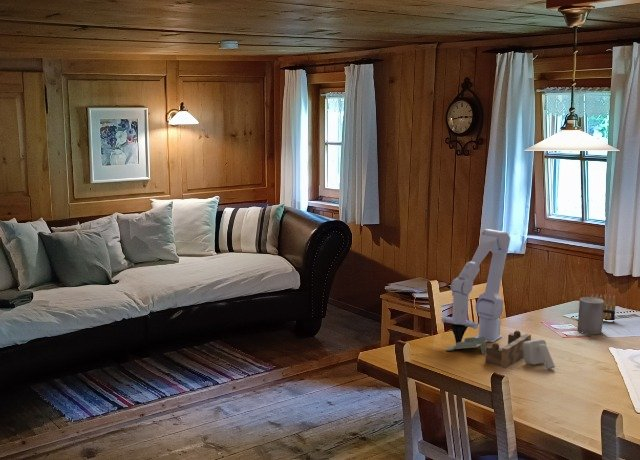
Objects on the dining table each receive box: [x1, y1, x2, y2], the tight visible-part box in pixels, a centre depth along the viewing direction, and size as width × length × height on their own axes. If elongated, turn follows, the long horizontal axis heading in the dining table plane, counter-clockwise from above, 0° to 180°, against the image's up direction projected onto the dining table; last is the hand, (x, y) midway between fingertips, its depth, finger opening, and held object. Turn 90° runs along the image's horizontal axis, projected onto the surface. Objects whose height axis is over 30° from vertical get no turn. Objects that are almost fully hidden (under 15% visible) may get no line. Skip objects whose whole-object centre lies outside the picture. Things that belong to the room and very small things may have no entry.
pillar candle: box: [577, 296, 604, 335], centre depth 315 cm, size 10×10×15 cm
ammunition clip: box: [590, 293, 616, 320], centre depth 332 cm, size 11×2×12 cm, turn 72°
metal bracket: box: [445, 336, 489, 355], centre depth 290 cm, size 14×6×15 cm
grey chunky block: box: [523, 339, 556, 370], centre depth 272 cm, size 8×10×10 cm
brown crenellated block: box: [484, 329, 532, 369], centre depth 281 cm, size 23×8×8 cm, turn 143°
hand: (458, 343), depth 293 cm, fingers closed
